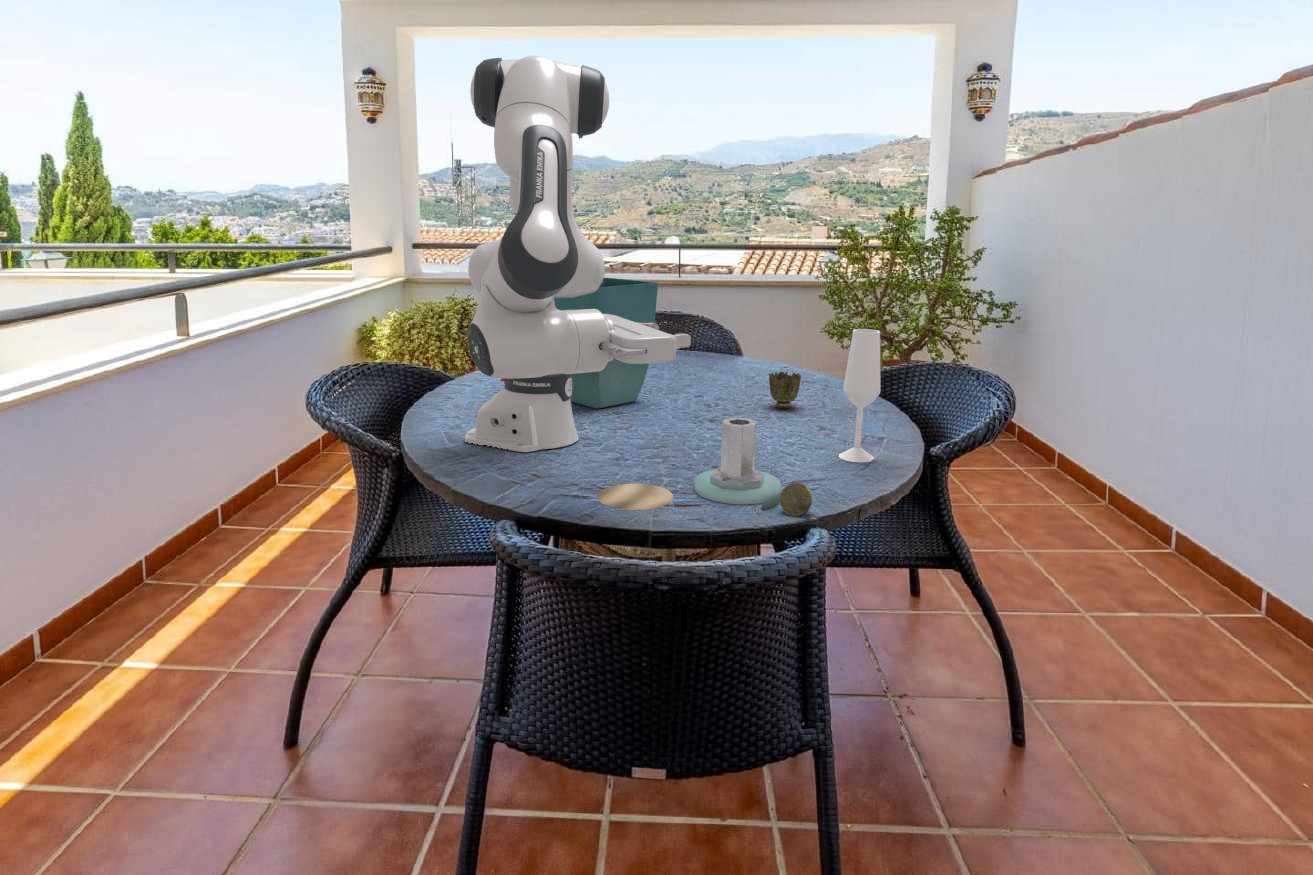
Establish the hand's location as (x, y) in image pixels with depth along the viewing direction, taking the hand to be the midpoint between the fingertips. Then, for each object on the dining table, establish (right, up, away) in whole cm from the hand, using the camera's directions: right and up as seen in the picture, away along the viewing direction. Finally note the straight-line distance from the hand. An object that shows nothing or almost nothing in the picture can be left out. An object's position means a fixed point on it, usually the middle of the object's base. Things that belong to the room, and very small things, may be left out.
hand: (671, 334), depth 123 cm
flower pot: (-16, -7, +76) cm, 78 cm away
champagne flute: (+36, -19, +34) cm, 53 cm away
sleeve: (+11, -22, +12) cm, 28 cm away
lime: (+19, -27, +6) cm, 34 cm away
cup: (+27, -9, +71) cm, 77 cm away
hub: (+11, -25, +13) cm, 30 cm away
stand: (-6, -26, +9) cm, 28 cm away
